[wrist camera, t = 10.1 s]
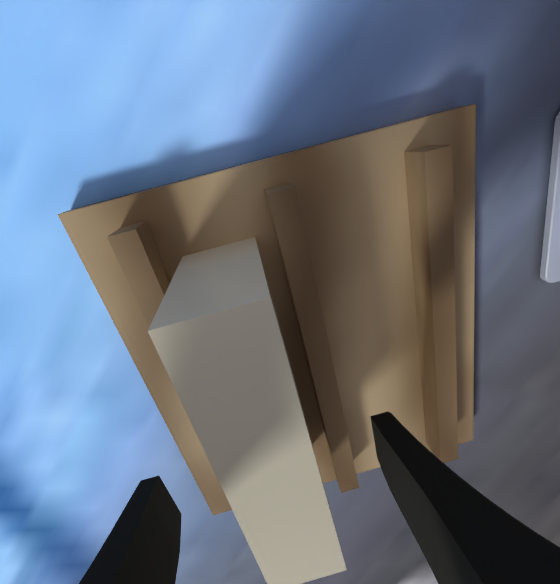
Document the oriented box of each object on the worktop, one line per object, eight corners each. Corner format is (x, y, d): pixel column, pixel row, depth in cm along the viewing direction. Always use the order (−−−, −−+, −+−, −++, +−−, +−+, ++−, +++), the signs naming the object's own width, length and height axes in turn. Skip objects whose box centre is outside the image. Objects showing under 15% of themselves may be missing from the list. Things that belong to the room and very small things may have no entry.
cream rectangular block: (255, 236, 13) (270, 297, 8) (312, 444, 18) (346, 569, 13) (182, 256, 13) (147, 331, 8) (259, 459, 18) (271, 592, 13)
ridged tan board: (459, 106, 13) (505, 98, 11) (462, 427, 21) (491, 461, 19) (70, 209, 13) (35, 222, 11) (214, 498, 20) (211, 542, 18)
